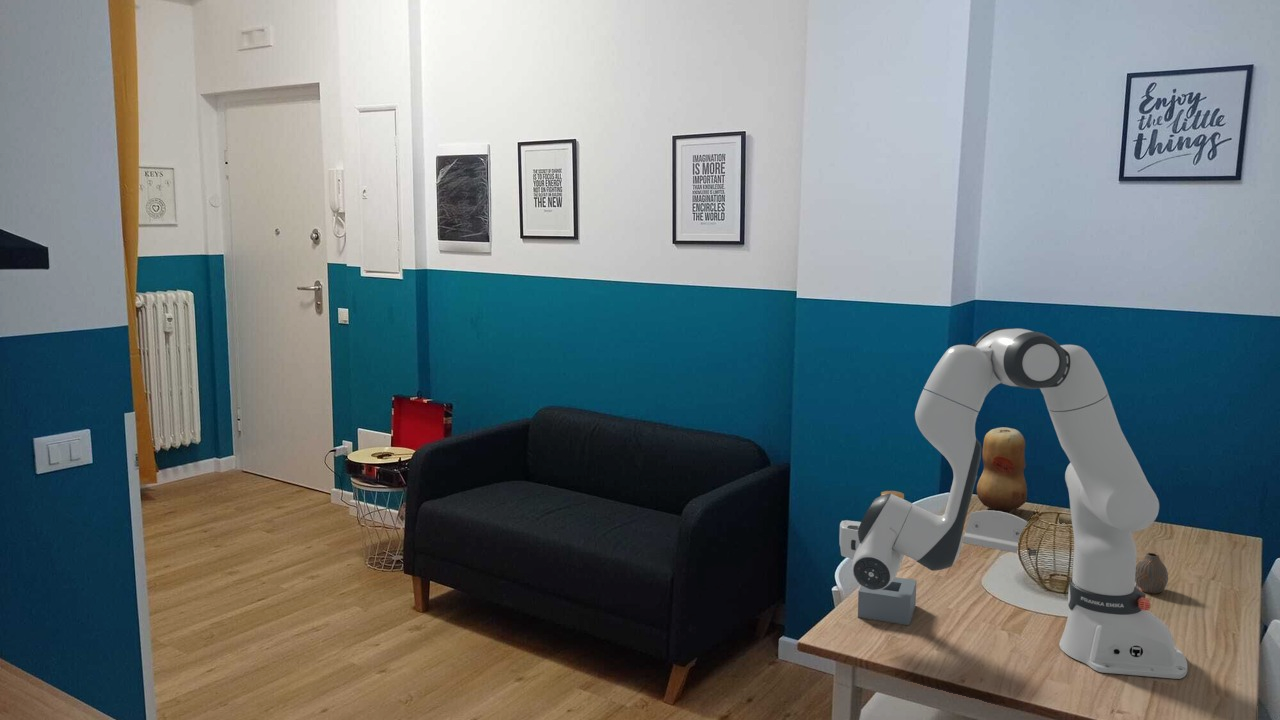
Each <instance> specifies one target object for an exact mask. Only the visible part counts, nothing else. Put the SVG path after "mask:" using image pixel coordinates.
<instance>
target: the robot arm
mask: <svg viewBox="0 0 1280 720" xmlns="http://www.w3.org/2000/svg"><path fill="white" fill-rule="evenodd" d="M999 384H1002V385H1006V386H1010V387H1019V388H1022V389H1027V390H1028V389H1029V390H1037V389H1039V390H1040V391H1041V394H1042V395H1043V399H1044V401H1045V405H1046V407H1047V408H1046V409H1047V411H1048V413H1049V417H1050V419H1051V422H1052V424H1053V428H1054V430H1055V433H1056V436H1057V438H1058V441H1059V445H1060V446H1061V448H1062V450H1063V451H1064V454H1065V455H1066V456H1067V458H1068V460H1069V464H1068V465H1067V467H1066V470H1065V473H1064V480H1065V484H1066V487H1067V490H1068V497H1069V508H1070V516H1071V517H1070V518H1071V524H1072V525H1071V526H1072V533H1073V559H1072V560H1073V561H1072V562H1073V563H1072V576H1071V578H1070V580H1069V585H1068V591H1067V593H1068V594H1067V604H1068V608H1069V609H1068V613H1067V618H1066V623H1065V627H1064V630H1063V633H1062V635H1061V638H1060V640H1059V643H1058V644H1059V648H1060V649H1061V650H1062V652H1063V653H1065V654H1066V655H1067V656H1069V657H1070V658H1072V659H1074V660H1076V661H1079V662H1081V663H1083V664H1085V665H1087V666H1088V667H1090V668H1091V669H1092V670H1094V671H1096V672H1099V673H1103V674H1104V673H1105V674H1114V675H1115V674H1116V675H1128V676H1137V677H1138V676H1140V677H1151V678H1163V679H1173V680H1174V679H1176V680H1180V679H1182V678H1184V677H1185V676H1186V675H1187V674H1188V662H1187V658H1186V656H1185V655H1184V653H1183V652H1182V650H1180V649H1179V648H1177V647H1176V646H1175V645H1176V644H1175V641H1174V637H1173V633H1172V632H1171V630H1170V628H1169V627H1168V625H1167V624H1165V622H1163V621H1162V620H1161V619H1159V618H1158V617H1157V616H1155V615H1154V614H1153V613H1152V612H1151V611H1150V610H1149V609H1150V608H1151V604H1150V601H1149V599H1148V598H1146V593H1145V592H1144V591H1142V590H1141V588H1140V587H1136V582H1135V573H1136V565H1137V558H1138V557H1137V556H1138V555H1137V554H1138V553H1137V552H1138V551H1137V547H1136V544H1135V542H1134V538H1133V533H1135V532H1140V531H1143V530H1145V529H1147V528H1149V527H1150V526H1151V525H1152V524H1153V523H1154V522H1155V521H1156V519H1157V517H1158V515H1159V512H1160V511H1159V510H1160V501H1159V499H1158V497H1157V494H1156V492H1155V491H1154V490H1153V488H1152V486H1151V485H1150V483H1149V482H1148V479H1147V477H1146V475H1145V473H1144V472H1143V471H1144V470H1143V468H1142V467H1141V465H1140V462H1139V461H1138V459H1137V457H1136V455H1135V454H1134V451H1133V450H1132V447H1131V446H1130V444H1129V442H1128V440H1127V438H1126V436H1125V435H1124V433H1123V431H1122V428H1121V425H1120V423H1119V421H1118V418H1117V415H1116V411H1115V409H1114V405H1113V403H1112V400H1111V398H1110V395H1109V392H1108V388H1107V387H1106V384H1105V381H1104V379H1103V377H1102V375H1101V373H1100V371H1099V368H1098V366H1097V365H1096V363H1095V361H1094V360H1093V358H1092V357H1091V355H1090V353H1089V352H1088V351H1087V350H1086V349H1085V348H1084V347H1082V346H1080V345H1076V344H1059V343H1058V342H1057V341H1055V340H1054V339H1053V338H1052V337H1050V336H1048V335H1047V334H1045V333H1042V332H1039V331H1033V330H1029V329H1025V328H1006V327H1002V328H1001V327H1000V328H999V327H998V328H994V329H992V330H989V331H988V332H985V333H984V334H982V336H980V337H979V338H978V339H977V340H976V341H975V342H973V343H972V344H971V345H970V344H969V345H968V344H956V345H953V346H950V347H949V348H948V349H947V350H946V351H945V352H944V353H943V355H942V356H941V358H940V359H939V361H938V362H937V363H936V365H935V366H934V368H933V370H932V372H931V373H930V375H929V377H928V379H927V381H926V383H925V384H924V386H923V389H922V391H921V393H920V395H919V398H918V401H917V404H916V408H915V412H914V419H915V423H916V426H917V427H918V429H919V431H920V433H921V435H922V436H923V437H924V438H925V440H927V441H928V442H929V444H931V445H932V446H933V447H934V448H935V449H936V450H937V451H938V452H939V453H940V454H941V455H942V456H943V457H944V458H945V459H946V461H948V463H949V465H950V467H951V469H952V473H953V474H952V475H953V479H952V484H951V486H950V491H949V494H948V499H947V504H946V507H945V511H944V514H942V515H938V514H935V513H933V512H931V511H929V510H926V509H924V508H922V507H920V506H918V505H916V504H914V503H912V502H911V501H908V500H906V499H905V498H904V499H902V498H900V497H898V496H895V495H893V494H891V493H889V494H884V495H882V496H881V495H880V496H878V497H876V498H874V499H873V501H872V502H871V503H870V505H869V506H868V509H867V510H866V512H865V514H864V516H863V517H862V520H861V521H855V520H848V519H846V520H841V522H840V523H839V537H838V538H839V547H840V555H841V556H842V557H844V558H847V559H850V560H852V564H851V570H852V571H851V572H852V574H853V577H854V579H855V580H856V582H857V583H858V584H859V585H860V586H861V585H862V586H863V587H865V588H867V589H870V590H881V589H884V588H886V587H887V586H888V585H889V584H890V583H891V582H892V581H893V580H894V578H895V577H897V574H898V573H899V570H900V567H901V564H902V562H903V560H904V556H906V557H908V558H910V559H912V560H914V561H916V563H919V564H920V565H922V566H923V567H925V568H926V569H928V570H930V571H932V572H935V571H941V570H947V569H949V568H951V567H952V566H953V565H954V564H955V563H956V561H957V560H958V559H959V556H960V553H961V551H962V547H963V543H962V542H963V536H964V527H965V523H966V519H967V516H968V514H969V509H970V506H971V500H972V497H973V493H974V489H975V486H976V481H977V478H978V470H979V467H980V463H981V457H982V444H981V442H980V441H979V440H978V439H977V437H976V422H977V418H978V415H979V412H980V411H981V408H982V407H983V403H984V402H985V399H986V397H987V395H989V393H990V391H992V389H993V388H995V387H996V386H998V385H999Z"/></svg>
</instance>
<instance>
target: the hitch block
mask: <svg viewBox="0 0 1280 720" xmlns="http://www.w3.org/2000/svg"><path fill="white" fill-rule="evenodd" d="M857 593H858V594H857V595H858V596H857V599H858V600H857V618H860V617H862V618H861V619H866V618H867V619H868V620H872V619H873V621H880V622H885V623H886V622H887V623H893V624H897V625H898V624H900V625H905V626H910V624H911V622H912V620H913V615H914V613H915V609H916V606H915V605H916V603H917V579H911V578H903V577H897V576H896V577H895V578H894V580H893V581H892V582H891V583H890V584H889V585H888V586H887V587H886V588H884V589H881V590H870V589H867V588H865V587H863V586H862V585H860V587H859V589H858V592H857Z"/></svg>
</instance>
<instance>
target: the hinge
mask: <svg viewBox="0 0 1280 720" xmlns="http://www.w3.org/2000/svg"><path fill="white" fill-rule="evenodd" d="M1027 524H1028V521H1027V520H1026V519H1024V518H1021V517H1020V516H1017V515H1014V514H1011V513H1010V512H1009V513H1008V512H1007V513H1005V512H1000V511H994V510H990V509H989V510H986V509H985V510H978V511H973V512H970V514H969V517H968V521H967V525H966V527H965V531H964V532H963V539H962V544H969V545H972V546H973V545H974V546H979V547H985V548H988V549H993V550H999V551H1003V552H1004V551H1005V552H1009V553H1013V554H1018V553H1017V548H1018V542H1019V538H1020V535H1021V533H1022V531H1023V529H1024V528H1025V526H1026V525H1027Z"/></svg>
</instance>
